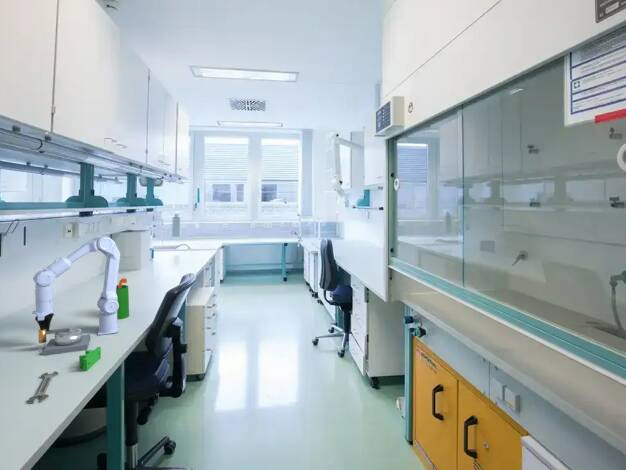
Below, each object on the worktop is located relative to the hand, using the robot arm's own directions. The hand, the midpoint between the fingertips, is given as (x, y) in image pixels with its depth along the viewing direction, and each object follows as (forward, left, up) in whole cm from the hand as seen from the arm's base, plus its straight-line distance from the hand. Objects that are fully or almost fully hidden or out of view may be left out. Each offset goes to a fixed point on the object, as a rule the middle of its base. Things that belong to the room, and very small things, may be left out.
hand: (45, 332), depth 145 cm
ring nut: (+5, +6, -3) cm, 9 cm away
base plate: (+5, +9, -5) cm, 11 cm away
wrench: (+41, +7, -6) cm, 42 cm away
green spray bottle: (-31, +26, -6) cm, 41 cm away
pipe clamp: (+27, +18, -6) cm, 33 cm away
